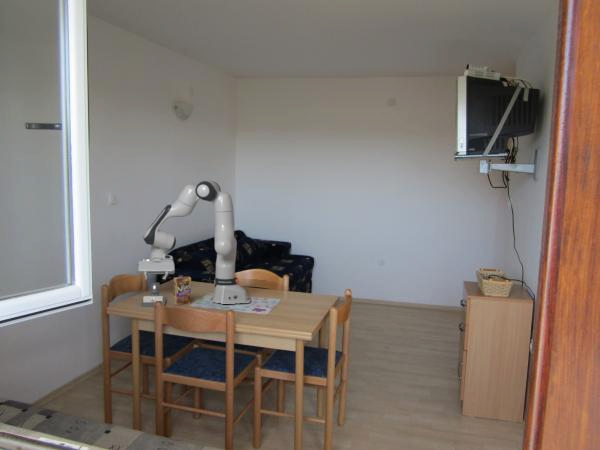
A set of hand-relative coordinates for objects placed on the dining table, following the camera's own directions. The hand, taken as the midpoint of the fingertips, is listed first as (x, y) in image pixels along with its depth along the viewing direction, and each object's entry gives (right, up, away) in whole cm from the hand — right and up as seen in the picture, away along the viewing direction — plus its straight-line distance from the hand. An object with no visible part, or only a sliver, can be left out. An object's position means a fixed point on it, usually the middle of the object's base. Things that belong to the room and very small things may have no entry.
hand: (155, 279), depth 260 cm
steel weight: (0, -10, -2) cm, 10 cm away
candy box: (+15, -14, -1) cm, 20 cm away
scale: (0, -13, -3) cm, 14 cm away
